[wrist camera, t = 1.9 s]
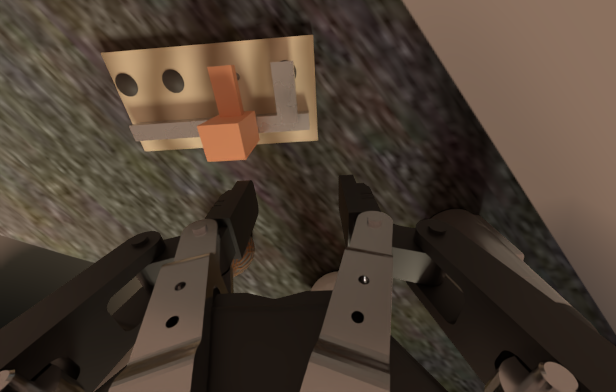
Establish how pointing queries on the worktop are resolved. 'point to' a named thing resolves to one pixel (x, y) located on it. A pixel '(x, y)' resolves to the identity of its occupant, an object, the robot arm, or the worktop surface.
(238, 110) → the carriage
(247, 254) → the vase
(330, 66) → the worktop surface
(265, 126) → the rail
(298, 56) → the hole board
